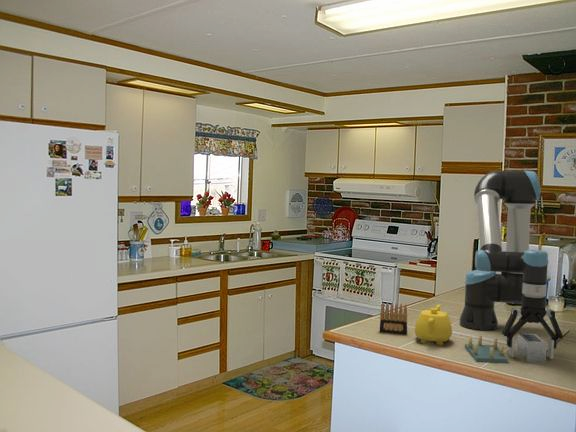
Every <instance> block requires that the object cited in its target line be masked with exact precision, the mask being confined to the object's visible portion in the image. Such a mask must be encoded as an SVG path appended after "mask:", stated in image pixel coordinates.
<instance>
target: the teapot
mask: <svg viewBox="0 0 576 432" xmlns="http://www.w3.org/2000/svg"><path fill="white" fill-rule="evenodd" d="M440 307H441V304H439V303H437V304H436V305H435V307H430V308H429V309H424V310H421V312H420V314H419V315H418V318H417V320H416V323H415V326H414V334H415V336H416V337H417V339H420V341H419V342H420V343H421V344H426V343H427V342H428V341H430V342H431V341H432V342H436V345H437V346H443V345H444V343H443V342H448V341H449V340H450V338H451V336H452V334H453V330H452V329H453V328H452V322H451V320H450V318H449V317H450V316H449V315H448V313H447V312H445V311H441V310H440Z"/></svg>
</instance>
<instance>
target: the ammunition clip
mask: <svg viewBox="0 0 576 432" xmlns="http://www.w3.org/2000/svg"><path fill="white" fill-rule="evenodd" d="M385 304H386V305H385ZM389 305H390V306H389ZM380 308H381V309H380V315H379V316H380V317H379V318H380V320H379V321H380V322H379V333H382V332H383V334H394V335H395V334H396V335H404V336H406V335H408V306H407V304H406V303H405V304H404V307H403V304H402V303H400V304H399V306H398V303H395V306H394V303H393V302H391V304H389V302H386V303H384V302H381V306H380ZM389 308H390V309H389Z"/></svg>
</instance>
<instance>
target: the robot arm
mask: <svg viewBox="0 0 576 432" xmlns="http://www.w3.org/2000/svg"><path fill="white" fill-rule="evenodd" d="M538 175H539V174H537V173H536V172H535V171H532V170H501V169H499V170H498V169H497V170H492V171H490V172H488V173H486V174H484V175H483V177H481V178H480V180H478V182H477V184H476V187H475V188H474V191H473V193H474V194H473V196H474V198H473V199H474V202H475V203H476V205H477V216H478V234H479V235H478V236H479V248H480V249H479V250H476V251H475V257H474V266H475V269H474V270H470V271H468V272H467V273H466V275H465V282H464V284H465V289H464V290H465V293H464V305H463V309H462V312H461V313H460V317H459V325H460V326H461V325H462V326H461V327H463V326H464V327H463V328H466V327H467V328H466V329H470V328H472V329H471V330H475V329H480V330H479V331H492V330H491V329H495V330H496V329H498V328H499V321H498V318H497V314H496V310H495V303H507V304H517V305H521V307H520V309H516V308H513V307H512V308H511V310H510V315H509V317H508V319H507V321H506V323H505V325H504V327H503V329H502V330H501V334H502V335H503V337H506V346H507V347H508V348H509V349H508V350H509V351H508V355H509V356H510V358H515V341H516V339H515V338H514V337H515V336H516V334H518V333H519V331H520V330H521V329H522V327H524V326H525V325H526V324H527V323H529V324H532V323H535V324H539V323H540V324H541V326H542V327H543V329H545V331H546V332H547V334H548V336H550V337H548V341H547V357H548V358H549V359H550V360H553V359H554V350H556V349H557V344H558V343H557V341H559V339H563V338H564V335H563V333H562V331H561V328H560V326H559V323H558V321H557V319H556V312H555V311H554V310H552V309H549V310H546V306H547V305H546V304H547V302H546V301H547V298H546V295H547V282H548V280H547V279H548V267H549V266H548V265H549V259H548V258H549V255H548V254H549V253H548V252H547V251H546V250H540V249H530V235H531V234H530V233H531V232H530V231H531V212H532V211H531V210H532V208H533V207H534V206H535V205H536V201H539V200H540V198H541V192H542V191H541V183H540V179H539V176H538ZM500 200H503V204H504V205H505V207H506V208H507V218H506V219H507V220H506V221H507V222H506V224H507V225H506V242H505V243H506V244H505V245H506V247H505V251H503V247H502V234H501V227H500V226H501V225H500V215H499V205H498V204H499V201H500ZM519 315H521V317H519V319H518V320H517V322H516V319H517V317H518V316H519ZM546 316H547V317H548V318H549V320H550V322H551V326H552V328H553V330H554V331H553V330H552V329H551V327H550V326H549V324H548V323H547V322H546V320H545V319H544V318H545V317H546ZM515 322H516V323H515ZM514 323H515V324H514ZM513 325H514V326H513Z"/></svg>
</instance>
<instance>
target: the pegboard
mask: <svg viewBox="0 0 576 432" xmlns="http://www.w3.org/2000/svg"><path fill="white" fill-rule="evenodd" d="M477 339H478V340H477V341H478V343H473V337H468V344H467V343H465V344H464V348H465V350H466V352H468V353H469V355H470V356H471V357H472V359H473V360H474V361H475V362H477V363H478V362H479V363H483V362H484V363H503V364H504V363H506V364H509V359H508V358H507V357H506V355H505V354H504V351H505V349H504V348H505V345H504V344H499V349H498V338H493V344H492V345H491V344H483V335H481V334H480V335H478V338H477Z"/></svg>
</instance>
